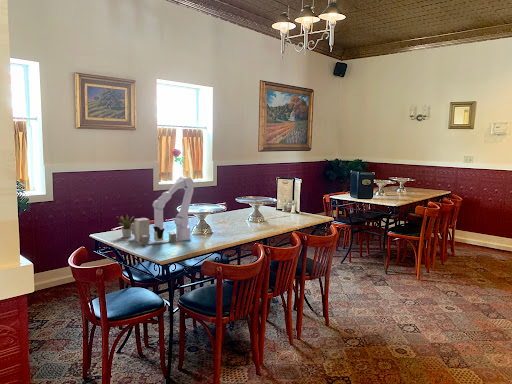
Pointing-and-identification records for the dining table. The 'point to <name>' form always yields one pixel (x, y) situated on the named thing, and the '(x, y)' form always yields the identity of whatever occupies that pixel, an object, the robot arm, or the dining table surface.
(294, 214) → the dining table surface
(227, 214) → the dining table surface
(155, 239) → the block
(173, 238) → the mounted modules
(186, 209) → the robot arm
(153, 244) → the steel rail
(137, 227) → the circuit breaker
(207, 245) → the dining table surface
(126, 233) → the house plant
